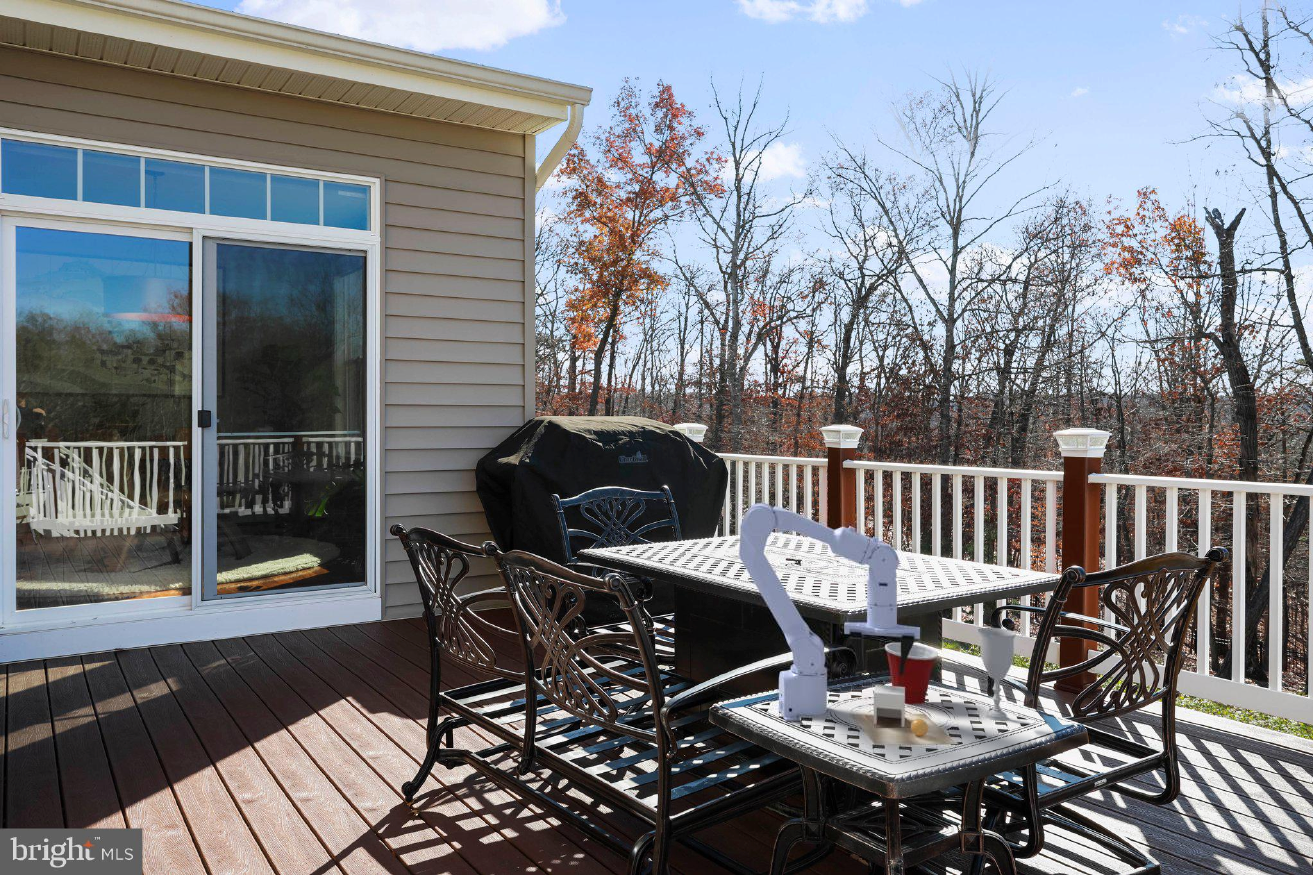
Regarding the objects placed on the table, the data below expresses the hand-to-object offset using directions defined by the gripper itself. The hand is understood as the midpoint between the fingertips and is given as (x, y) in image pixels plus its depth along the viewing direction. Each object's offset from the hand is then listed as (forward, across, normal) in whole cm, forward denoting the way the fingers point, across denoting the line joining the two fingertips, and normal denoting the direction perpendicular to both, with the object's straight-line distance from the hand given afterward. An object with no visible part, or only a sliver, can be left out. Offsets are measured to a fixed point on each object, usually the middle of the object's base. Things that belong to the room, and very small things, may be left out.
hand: (881, 671), depth 169 cm
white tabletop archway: (+8, +2, -5) cm, 10 cm away
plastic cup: (+10, +5, +12) cm, 16 cm away
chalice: (+10, +22, +5) cm, 24 cm away
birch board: (+9, +4, -8) cm, 13 cm away
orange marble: (+8, +7, -11) cm, 16 cm away
